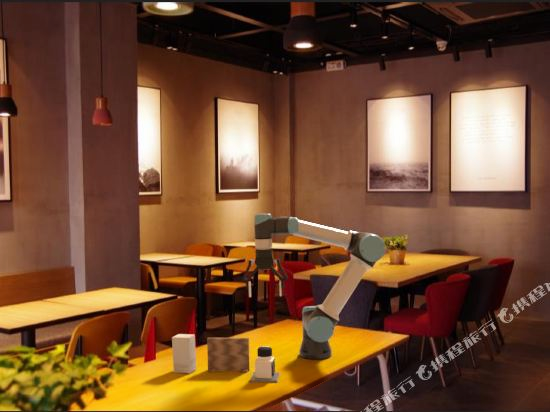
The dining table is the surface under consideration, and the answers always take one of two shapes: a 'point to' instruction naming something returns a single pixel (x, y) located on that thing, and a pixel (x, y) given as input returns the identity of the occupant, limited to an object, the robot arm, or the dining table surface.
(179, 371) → the skincare box
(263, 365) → the medicine bottle
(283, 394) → the dining table surface
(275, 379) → the coaster
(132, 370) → the dining table surface
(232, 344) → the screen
